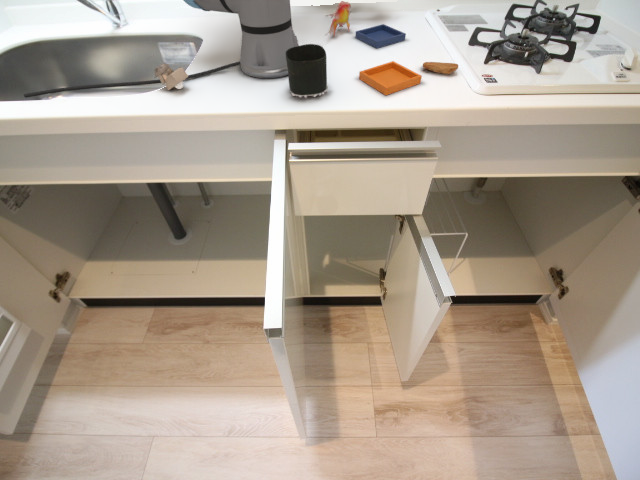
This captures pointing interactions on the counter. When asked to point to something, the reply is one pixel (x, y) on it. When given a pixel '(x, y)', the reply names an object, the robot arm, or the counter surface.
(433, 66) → the stone
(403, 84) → the amber tray
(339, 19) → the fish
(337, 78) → the counter surface
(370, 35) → the blue tray
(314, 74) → the black cylinder cup
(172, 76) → the toy character
